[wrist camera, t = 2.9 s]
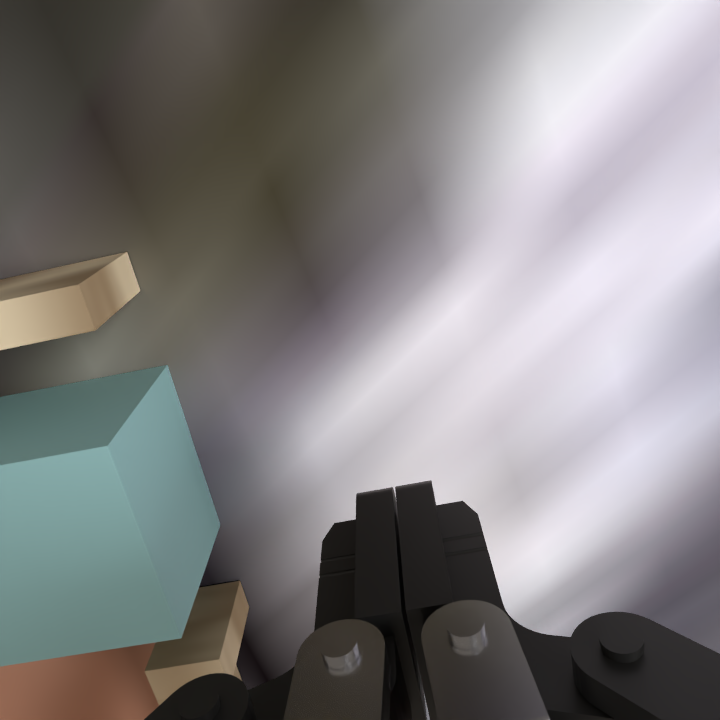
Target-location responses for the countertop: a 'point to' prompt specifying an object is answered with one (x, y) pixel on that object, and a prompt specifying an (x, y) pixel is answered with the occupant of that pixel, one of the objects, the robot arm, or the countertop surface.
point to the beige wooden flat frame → (212, 603)
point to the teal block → (99, 517)
